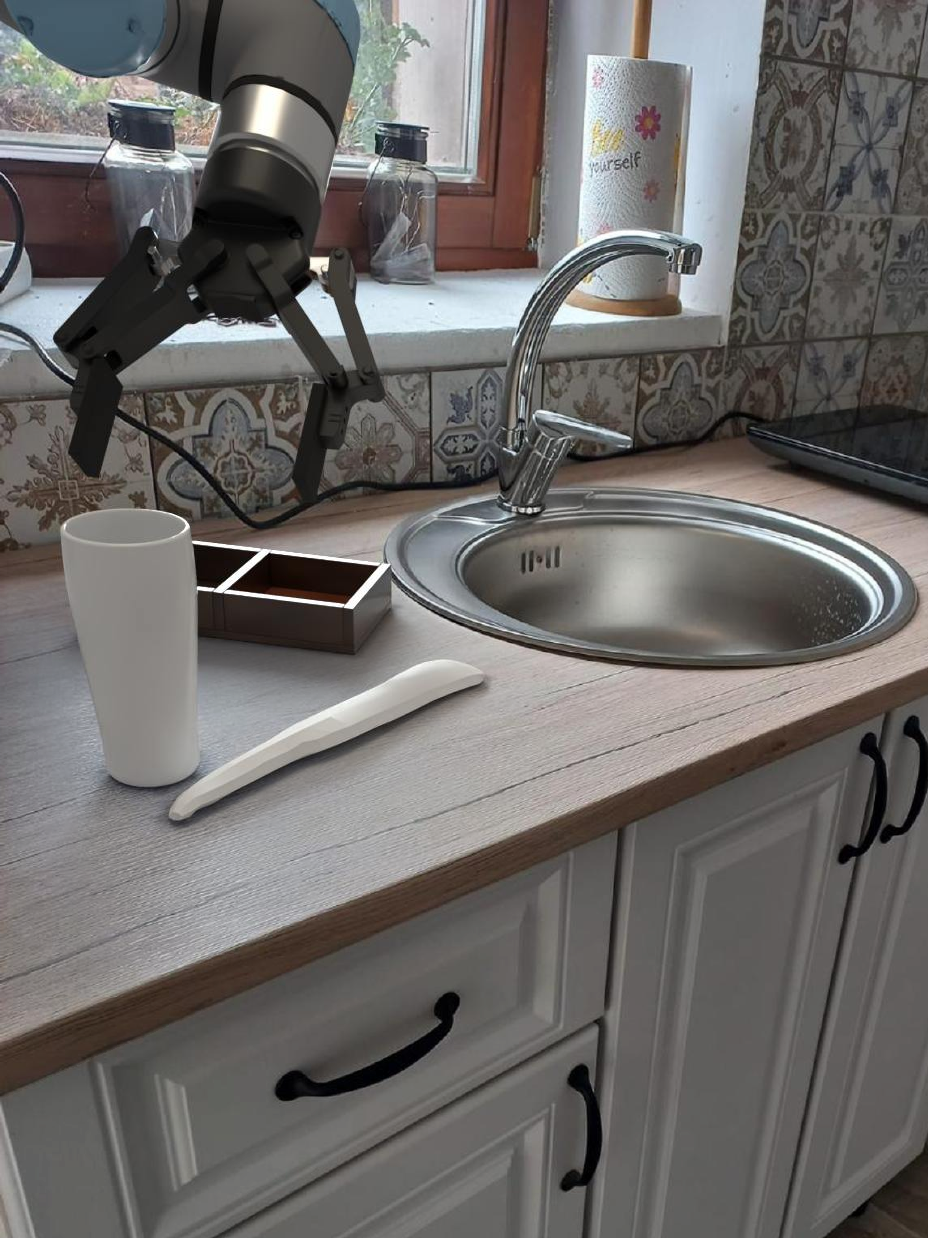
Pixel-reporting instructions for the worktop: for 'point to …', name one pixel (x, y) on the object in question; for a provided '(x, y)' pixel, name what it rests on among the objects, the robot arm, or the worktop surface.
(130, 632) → the drinking glass
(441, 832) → the worktop surface
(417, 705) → the white long thin piece
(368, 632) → the divided tray
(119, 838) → the worktop surface
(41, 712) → the worktop surface
